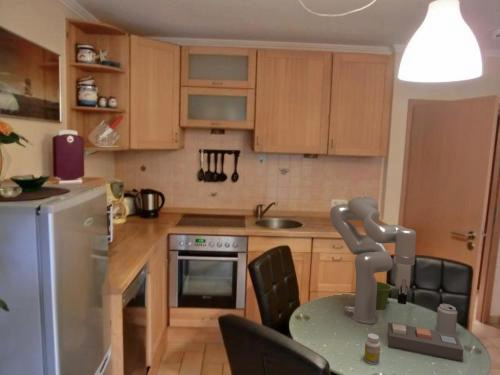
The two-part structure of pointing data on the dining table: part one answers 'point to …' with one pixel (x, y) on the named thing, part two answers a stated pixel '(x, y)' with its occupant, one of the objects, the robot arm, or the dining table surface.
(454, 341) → the slate key
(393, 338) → the key panel
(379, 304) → the plant pot
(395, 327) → the cream key
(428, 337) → the terracotta key
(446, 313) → the can
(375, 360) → the supplement bottle
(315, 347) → the dining table surface
